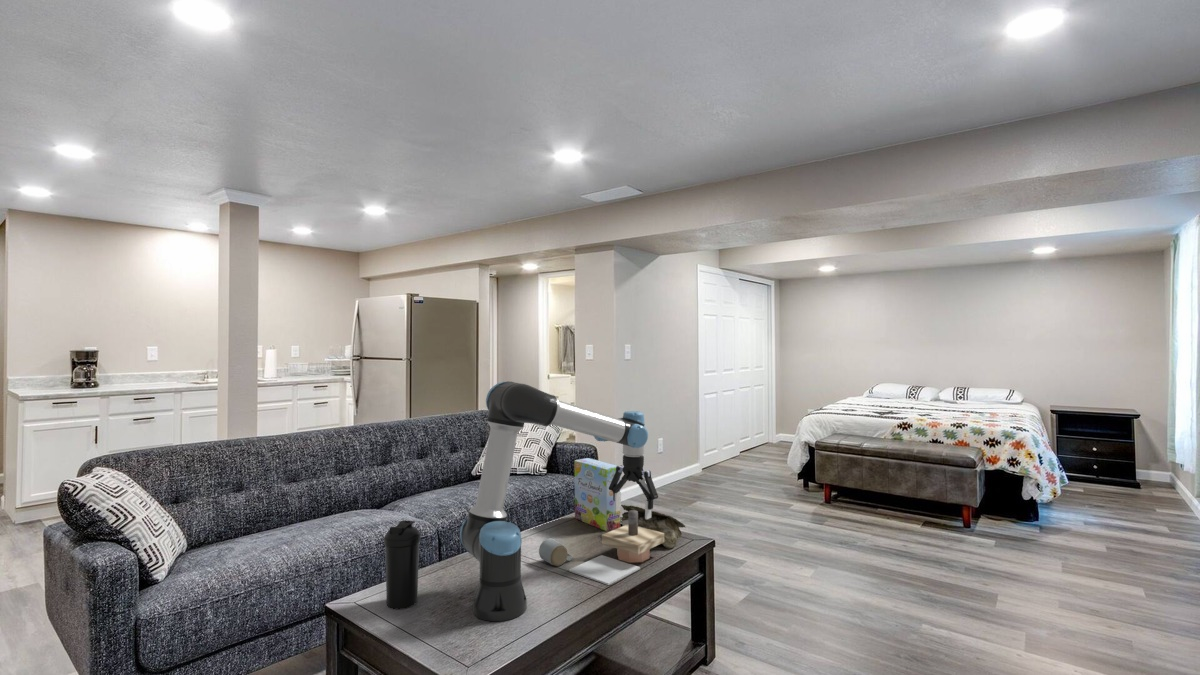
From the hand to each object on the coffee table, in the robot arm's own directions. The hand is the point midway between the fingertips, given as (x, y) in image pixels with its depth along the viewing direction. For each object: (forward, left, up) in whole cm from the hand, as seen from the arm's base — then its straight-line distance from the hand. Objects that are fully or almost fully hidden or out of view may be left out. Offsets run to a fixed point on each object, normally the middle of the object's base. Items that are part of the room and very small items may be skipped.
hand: (632, 514), depth 204 cm
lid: (0, 0, -10) cm, 10 cm away
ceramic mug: (-21, +17, -15) cm, 31 cm away
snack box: (+20, +34, -15) cm, 42 cm away
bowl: (0, 0, -15) cm, 15 cm away
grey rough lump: (+20, +6, -15) cm, 25 cm away
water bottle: (-73, +30, -15) cm, 80 cm away
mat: (-16, 0, -15) cm, 22 cm away
